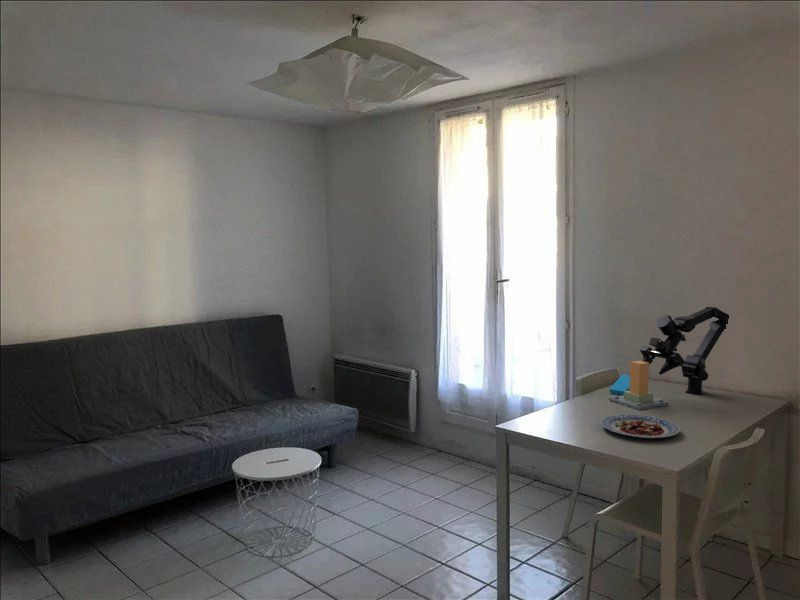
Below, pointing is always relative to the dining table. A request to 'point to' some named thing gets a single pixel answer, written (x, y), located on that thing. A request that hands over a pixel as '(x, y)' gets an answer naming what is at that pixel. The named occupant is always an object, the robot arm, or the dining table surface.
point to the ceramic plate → (640, 426)
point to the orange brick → (639, 377)
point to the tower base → (639, 405)
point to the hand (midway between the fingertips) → (650, 371)
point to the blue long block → (621, 385)
